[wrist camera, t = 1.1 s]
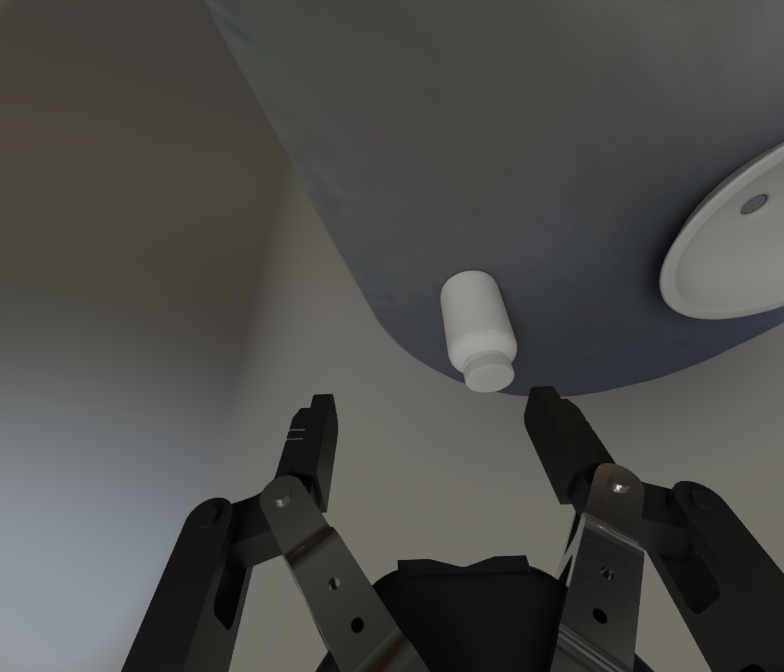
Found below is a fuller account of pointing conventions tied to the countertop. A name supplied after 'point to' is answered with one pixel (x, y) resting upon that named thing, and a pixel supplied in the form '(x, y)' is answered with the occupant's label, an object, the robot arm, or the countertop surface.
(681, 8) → the countertop surface
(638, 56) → the countertop surface
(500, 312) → the pill bottle
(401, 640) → the robot arm
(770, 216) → the soup bowl
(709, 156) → the countertop surface
